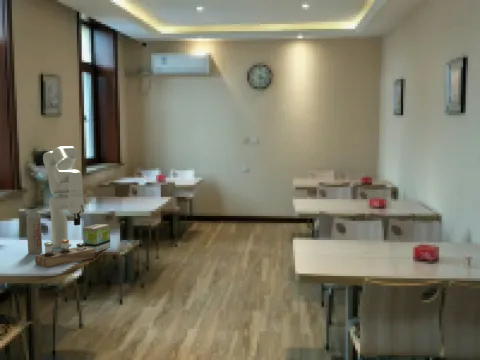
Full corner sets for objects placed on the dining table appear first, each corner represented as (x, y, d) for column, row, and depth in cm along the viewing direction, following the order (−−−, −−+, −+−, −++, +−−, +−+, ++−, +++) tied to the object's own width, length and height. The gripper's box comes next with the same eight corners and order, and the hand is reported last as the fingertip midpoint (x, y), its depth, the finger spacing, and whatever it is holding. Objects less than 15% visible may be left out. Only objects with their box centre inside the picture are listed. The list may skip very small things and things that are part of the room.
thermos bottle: (44, 252, 338) (41, 206, 336) (30, 255, 333) (28, 208, 331) (39, 250, 345) (37, 205, 342) (26, 252, 339) (23, 206, 337)
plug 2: (75, 256, 325) (74, 244, 324) (82, 255, 328) (81, 242, 327) (79, 257, 322) (79, 245, 321) (86, 256, 325) (86, 243, 324)
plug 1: (43, 256, 309) (42, 243, 308) (50, 254, 313) (50, 241, 312) (47, 257, 306) (46, 244, 305) (55, 256, 310) (54, 242, 309)
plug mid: (59, 253, 317) (58, 240, 316) (66, 251, 320) (66, 238, 319) (64, 254, 314) (63, 241, 313) (71, 252, 317) (70, 239, 316)
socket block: (35, 264, 310) (35, 255, 310) (82, 254, 333) (82, 246, 332) (47, 267, 302) (46, 258, 302) (94, 257, 325) (94, 248, 324)
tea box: (97, 252, 336) (96, 228, 335) (83, 251, 340) (81, 227, 338) (111, 247, 350) (110, 224, 349) (97, 246, 354) (96, 223, 352)
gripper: (62, 192, 322) (64, 224, 324) (77, 194, 312) (79, 227, 314) (73, 191, 328) (75, 222, 329) (89, 193, 318) (90, 225, 320)
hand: (77, 224), depth 322 cm, fingers closed
